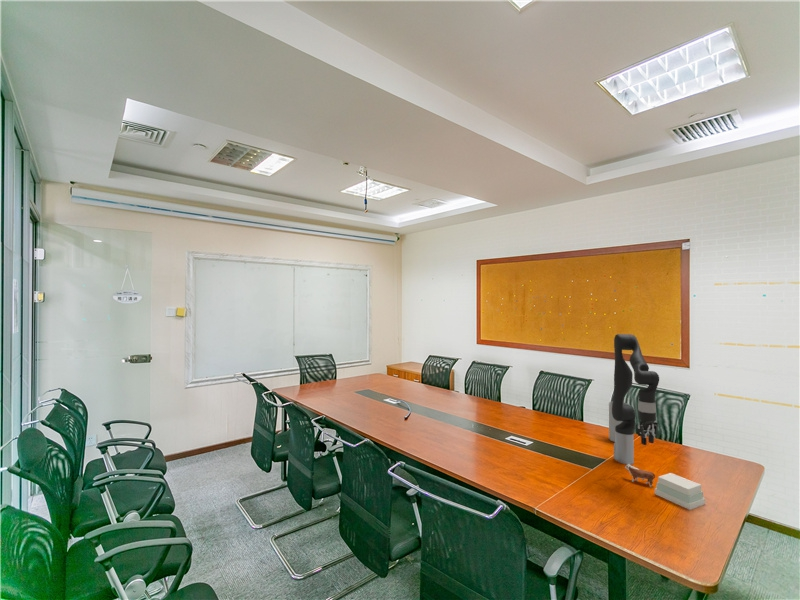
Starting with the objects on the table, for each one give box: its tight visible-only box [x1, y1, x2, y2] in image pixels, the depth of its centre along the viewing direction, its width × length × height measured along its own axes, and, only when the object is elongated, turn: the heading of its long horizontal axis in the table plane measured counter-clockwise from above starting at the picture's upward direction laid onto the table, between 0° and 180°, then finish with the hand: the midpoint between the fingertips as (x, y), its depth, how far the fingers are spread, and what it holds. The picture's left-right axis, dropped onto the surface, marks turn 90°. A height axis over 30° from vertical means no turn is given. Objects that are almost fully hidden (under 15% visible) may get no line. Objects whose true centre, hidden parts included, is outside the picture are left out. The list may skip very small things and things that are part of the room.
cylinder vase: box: [608, 401, 631, 443], centre depth 245 cm, size 12×12×25 cm
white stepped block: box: [654, 472, 706, 511], centre depth 171 cm, size 15×12×9 cm
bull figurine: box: [624, 464, 656, 488], centre depth 187 cm, size 4×13×8 cm, turn 43°
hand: (647, 443), depth 184 cm, fingers open, 5 cm apart
